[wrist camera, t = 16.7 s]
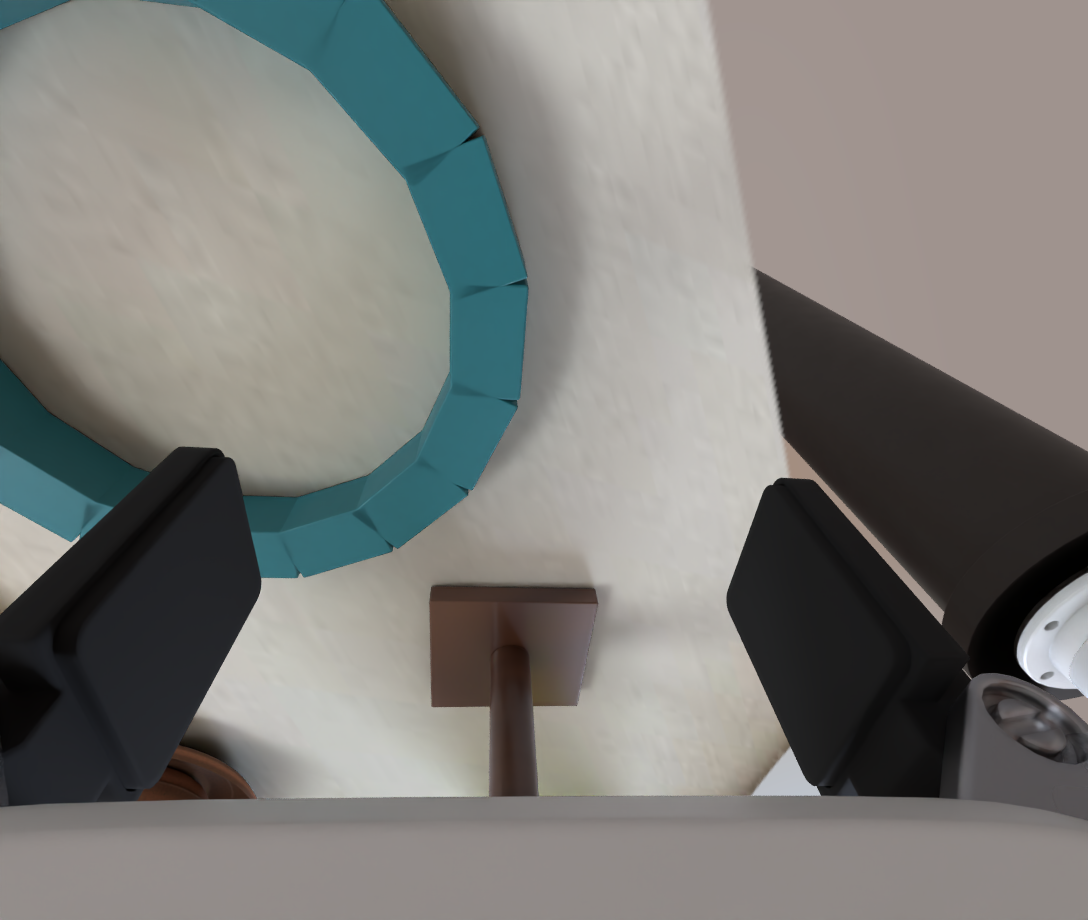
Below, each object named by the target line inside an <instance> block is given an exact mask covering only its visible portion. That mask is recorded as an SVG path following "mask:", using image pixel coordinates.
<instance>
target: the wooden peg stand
mask: <svg viewBox="0 0 1088 920" xmlns="http://www.w3.org/2000/svg"><path fill="white" fill-rule="evenodd" d="M429 604H430V657H431V706H432V707H488V706H490V753H489V797H524V796H539V794H538V778H537V763H536V747H535V731H534V716H533V706H577V704H578V700H579V695H580V690H581V685H582V680H583V675H584V670H585V665H586V660H587V655H588V651H589V646H590V641H591V636H592V631H593V626H594V621H595V616H596V611H597V606H598V600H597V595H596V591H595V589H582V588H515V587H449V586H432V587H431V593H430V601H429Z"/></svg>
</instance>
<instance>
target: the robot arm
mask: <svg viewBox="0 0 1088 920" xmlns="http://www.w3.org/2000/svg"><path fill="white" fill-rule="evenodd" d="M260 590H261V575H260V570H259V566H258V561H257V557H256V553H255V548H254V544H253V539H252V535H251V530H250V526H249V522H248V517H247V513H246V508H245V504H244V500H243V495H242V491H241V486H240V482H239V478H238V473H237V469H236V465H235V462H234V461H233V459H231V458H226V457H225V456H224V454H223V453H222V451H221V450H219V449H217V448H199V447H178V448H177V449H175V450H174V451H173V452H172V453H171V454H170V455H169V456H168V457H167V458H165V459H164V460H163V461H162V462H161V463H160V464H159V465H158V466H157V467H156V468H155V469H154V470H153V471H152V472H151V473H150V474H149V475H148V476H146V477H145V478H144V479H143V480H142V481H141V482H140V483H139V484H138V485H137V486H136V487H135V488H134V489H133V490H132V491H131V492H130V493H128V494H127V495H126V496H125V497H124V498H123V499H122V500H121V501H120V502H119V503H118V504H117V505H116V506H115V507H114V508H113V509H112V510H110V511H109V512H108V513H107V514H106V515H105V516H104V517H103V518H102V519H101V520H100V521H99V522H98V523H97V524H96V525H95V526H94V527H92V528H91V529H90V530H89V531H88V532H87V533H86V534H85V535H84V536H83V537H82V538H81V539H80V540H79V541H78V542H77V543H76V544H75V545H73V546H72V547H71V548H70V549H69V550H68V551H67V552H66V553H65V554H64V555H63V556H62V557H61V558H60V559H59V560H58V561H57V562H55V563H54V564H53V565H52V566H51V567H50V568H49V569H48V570H47V571H46V572H45V573H44V574H43V575H42V576H41V577H40V578H39V579H37V580H36V581H35V582H34V583H33V584H32V585H31V586H30V587H29V588H28V589H27V590H26V591H25V592H24V593H23V594H22V595H21V596H19V597H18V598H17V599H16V600H15V601H14V602H13V603H12V604H11V605H10V606H9V607H8V608H7V609H6V610H5V611H4V612H3V613H2V614H0V920H1088V724H1087V723H1086V722H1085V721H1083V720H1082V719H1081V718H1080V717H1079V716H1078V715H1077V714H1076V713H1075V712H1074V711H1073V710H1072V709H1071V708H1069V707H1068V706H1066V705H1065V704H1063V703H1062V702H1061V701H1059V700H1058V699H1057V698H1055V697H1054V696H1053V695H1051V694H1049V693H1047V692H1045V691H1044V690H1042V689H1040V688H1038V687H1036V686H1034V685H1033V684H1030V683H1028V682H1025V681H1022V680H1020V679H1017V678H1015V677H1012V676H1007V675H1002V674H996V673H990V674H980V675H979V676H977V677H975V678H973V679H972V680H971V679H970V678H969V677H968V676H967V674H966V673H965V672H964V671H963V670H962V668H963V667H964V666H965V664H966V663H967V662H968V660H969V659H970V657H969V656H968V655H967V654H966V653H965V651H964V650H963V649H962V648H961V647H960V646H959V645H958V643H957V642H956V641H955V640H954V639H953V638H952V637H951V635H950V634H949V633H948V632H947V631H946V630H945V629H944V628H943V626H942V625H941V624H940V623H939V622H938V621H937V620H936V618H935V617H934V616H933V615H932V614H931V613H930V612H929V611H928V609H927V608H926V607H925V606H924V605H923V604H922V602H921V601H920V600H919V599H918V598H917V597H916V596H915V595H914V593H913V592H912V591H911V590H910V589H909V588H908V587H907V585H906V584H905V583H904V582H903V581H902V580H901V579H900V578H899V576H898V575H897V574H896V573H895V572H894V571H893V570H892V568H891V567H890V566H889V565H888V564H887V563H886V562H885V560H884V559H883V558H882V557H881V556H880V555H879V554H878V552H877V551H876V550H875V549H874V548H873V547H872V546H871V544H869V542H868V541H867V540H866V539H865V538H864V537H863V536H862V534H861V533H860V532H859V531H858V530H857V529H856V527H855V526H854V525H853V524H852V523H851V522H850V521H849V520H848V519H847V517H846V516H845V515H844V514H843V513H842V512H841V510H840V509H839V508H838V507H837V506H836V505H835V504H834V502H833V501H832V500H831V499H830V498H829V497H828V496H827V494H826V493H825V492H824V491H823V490H822V489H821V488H820V487H819V485H818V484H817V483H816V482H814V481H813V480H810V479H793V478H779V479H777V480H776V481H775V482H774V484H773V485H769V486H767V487H766V488H765V490H764V492H763V494H762V497H761V500H760V503H759V505H758V508H757V511H756V514H755V516H754V519H753V522H752V525H751V528H750V530H749V533H748V536H747V539H746V541H745V544H744V547H743V550H742V552H741V555H740V558H739V561H738V564H737V566H736V569H735V572H734V575H733V577H732V580H731V583H730V586H729V589H728V592H727V608H728V611H729V614H730V616H731V618H732V620H733V622H734V624H735V627H736V629H737V631H738V633H739V635H740V637H741V640H742V642H743V644H744V646H745V648H746V651H747V653H748V655H749V657H750V659H751V661H752V664H753V666H754V668H755V670H756V672H757V675H758V677H759V679H760V681H761V683H762V685H763V688H764V690H765V692H766V694H767V696H768V698H769V701H770V703H771V705H772V707H773V709H774V712H775V714H776V716H777V718H778V720H779V722H780V725H781V727H782V729H783V731H784V733H785V736H786V738H787V740H788V742H789V744H790V746H791V749H792V751H793V752H794V755H795V757H796V759H797V762H798V764H799V766H800V768H801V770H802V773H803V775H804V776H805V778H806V780H807V781H808V782H809V783H810V784H811V785H813V786H817V788H818V790H819V792H820V794H821V796H524V797H389V798H301V799H213V800H166V801H138V799H139V797H140V795H141V793H142V792H143V790H144V789H150V788H152V787H153V786H154V785H155V784H156V783H157V782H158V781H159V779H160V778H161V776H162V775H163V773H164V771H165V769H166V767H167V765H168V764H169V762H170V760H171V758H172V756H173V754H174V752H175V751H176V749H177V747H178V745H179V743H180V741H181V740H182V738H183V736H184V734H185V732H186V730H187V728H188V727H189V725H190V723H191V721H192V719H193V717H194V715H195V714H196V712H197V710H198V708H199V706H200V704H201V703H202V701H203V699H204V697H205V695H206V693H207V691H208V690H209V688H210V686H211V684H212V682H213V680H214V679H215V677H216V675H217V673H218V671H219V669H220V667H221V666H222V664H223V662H224V660H225V658H226V656H227V654H228V653H229V651H230V649H231V647H232V645H233V643H234V642H235V640H236V638H237V636H238V634H239V632H240V630H241V629H242V627H243V625H244V623H245V621H246V619H247V617H248V616H249V614H250V612H251V610H252V608H253V606H254V605H255V603H256V601H257V599H258V597H259V594H260ZM1014 656H1015V659H1016V662H1017V663H1018V664H1019V665H1020V667H1021V668H1022V669H1023V670H1024V671H1025V672H1026V673H1027V674H1028V675H1029V676H1030V677H1031V678H1032V679H1033V680H1034V681H1036V682H1038V683H1040V684H1043V685H1045V686H1048V687H1055V688H1061V689H1079V690H1080V691H1081V692H1082V693H1083V694H1084V695H1085V696H1086V697H1087V698H1088V566H1087V567H1085V568H1083V569H1082V570H1080V571H1078V572H1077V573H1075V574H1073V575H1072V576H1070V577H1068V578H1067V579H1066V580H1064V581H1063V582H1062V583H1060V584H1059V585H1058V586H1056V587H1055V588H1054V589H1052V590H1051V591H1050V592H1049V593H1048V594H1047V595H1046V596H1044V597H1043V598H1042V599H1041V600H1040V601H1039V602H1038V603H1037V604H1036V605H1035V606H1034V608H1033V609H1032V610H1031V611H1030V612H1029V613H1028V615H1027V616H1026V617H1025V619H1024V620H1023V622H1022V624H1021V626H1020V627H1019V629H1018V631H1017V634H1016V637H1015V640H1014Z"/></svg>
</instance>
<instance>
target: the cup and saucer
mask: <svg viewBox="0 0 1088 920" xmlns="http://www.w3.org/2000/svg"><path fill="white" fill-rule="evenodd" d="M213 799H257V798H256V796H255V794H254V793H253V791H252V789H251V788H250V786H249V785H248V783H247V782H246V781H245V779H244V778H243V777H242V776H241V775H240V774H239V773H238V772H236V771H235V770H234V769H233V768H231V767H230V766H228V765H227V764H225V763H224V762H222V761H220V760H218V759H216V758H214V757H212V756H210V755H208V754H205V753H203V752H200V751H197V750H194V749H191V748H188V747H184V746H180V745H178V747H177V749H176V751H175V752H174V754H173V756H172V758H171V760H170V762H169V764H168V765H167V767H166V769H165V771H164V773H163V775H162V776H161V778H160V779H159V781H158V782H157V783H156V784H155V785H154V786H153V787H152V788H150V789H144V790H143V792H142V793H141V795H140V797H139V799H138V801H166V800H213Z"/></svg>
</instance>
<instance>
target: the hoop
mask: <svg viewBox="0 0 1088 920" xmlns="http://www.w3.org/2000/svg"><path fill="white" fill-rule="evenodd" d="M67 1H69V0H0V30H1V29H3V28H5V27H8V26H10V25H12V24H15V23H17V22H19V21H22V20H24V19H27V18H29V17H31V16H34V15H36V14H38V13H41V12H43V11H46V10H48V9H50V8H53V7H55V6H57V5H60V4H62V3H64V2H67ZM142 1H150V2H158V3H166V4H174V5H182V6H190V7H198V8H201V9H203V10H204V11H206V12H208V13H210V14H211V15H213V16H215V17H217V18H218V19H220V20H222V21H224V22H225V23H227V24H229V25H231V26H232V27H234V28H236V29H238V30H239V31H241V32H243V33H245V34H246V35H248V36H250V37H252V38H253V39H255V40H257V41H259V42H260V43H262V44H264V45H266V46H267V47H269V48H271V49H273V50H274V51H276V52H278V53H280V54H281V55H283V56H285V57H287V58H288V59H290V60H292V61H294V62H295V63H297V64H299V65H301V66H302V67H304V68H306V69H308V70H309V71H311V73H312V74H313V75H314V76H315V77H316V78H317V79H318V81H319V82H320V83H321V84H322V85H323V86H324V87H325V89H326V90H327V91H328V92H329V93H330V94H331V95H332V97H333V98H334V99H335V100H336V101H337V102H338V103H339V105H340V106H341V107H342V108H343V109H344V110H345V111H346V113H347V114H348V115H349V116H350V117H351V118H352V119H353V121H354V122H355V123H356V124H357V125H358V126H359V127H360V129H361V130H362V131H363V132H364V133H365V134H366V136H367V137H368V138H369V139H370V140H371V141H372V142H373V144H374V145H375V146H376V147H377V148H378V149H379V150H380V152H381V153H382V154H383V155H384V156H385V157H386V158H387V160H388V161H389V162H390V163H391V164H392V165H393V166H394V168H395V169H396V170H397V171H398V172H399V173H400V174H401V176H402V177H403V178H404V179H405V180H406V182H407V185H408V187H409V190H410V192H411V195H412V198H413V200H414V203H415V205H416V208H417V210H418V213H419V215H420V218H421V220H422V223H423V225H424V228H425V230H426V233H427V235H428V238H429V240H430V243H431V245H432V248H433V250H434V253H435V255H436V258H437V260H438V263H439V265H440V268H441V270H442V273H443V275H444V278H445V280H446V283H447V285H448V288H449V290H450V372H449V374H448V376H447V378H446V381H445V383H444V385H443V387H442V389H441V391H440V394H439V396H438V398H437V400H436V402H435V404H434V406H433V409H432V411H431V413H430V415H429V417H428V419H427V422H426V424H425V426H424V428H423V430H422V431H421V432H420V433H418V434H417V435H416V436H415V437H414V438H413V439H411V440H410V441H409V442H408V443H407V444H405V445H404V446H403V447H402V448H401V449H399V450H398V451H397V452H396V453H395V454H393V455H392V456H391V457H390V458H389V459H387V460H386V461H385V462H384V463H383V464H381V465H380V466H379V467H378V468H377V469H376V470H374V471H373V472H372V473H371V474H370V475H368V476H365V477H362V478H358V479H355V480H352V481H349V482H345V483H342V484H339V485H336V486H333V487H329V488H326V489H323V490H320V491H317V492H313V493H310V494H307V495H304V496H300V497H272V496H243V500H244V504H245V508H246V513H247V517H248V522H249V526H250V530H251V535H252V539H253V544H254V548H255V553H256V557H257V561H258V566H259V570H260V575H261V578H298V576H299V574H300V573H301V574H302V576H303V577H308V576H312V575H315V574H318V573H322V572H325V571H329V570H332V569H335V568H339V567H342V566H346V565H349V564H352V563H356V562H359V561H362V560H366V559H369V558H373V557H376V556H379V555H383V554H386V553H390V552H392V551H393V547H396V548H397V549H398V548H400V547H401V546H402V545H404V544H405V543H406V542H407V541H409V540H410V539H411V538H413V537H414V536H415V535H417V534H418V533H419V532H421V531H422V530H423V529H424V528H426V527H427V526H428V525H430V524H431V523H432V522H434V521H435V520H436V519H438V518H439V517H440V516H441V515H443V514H444V513H445V512H447V511H448V510H449V509H451V508H452V507H453V506H455V505H456V504H457V503H459V502H460V501H461V500H462V499H464V498H465V497H466V496H468V490H473V488H474V487H475V485H476V483H477V481H478V479H479V477H480V476H481V474H482V472H483V470H484V468H485V466H486V465H487V463H488V461H489V459H490V457H491V455H492V454H493V452H494V450H495V448H496V446H497V444H498V443H499V441H500V439H501V437H502V435H503V433H504V432H505V430H506V428H507V426H508V424H509V423H510V421H511V419H512V417H513V415H514V413H515V412H516V410H517V408H518V405H517V400H519V399H520V394H521V381H522V368H523V355H524V342H525V329H526V316H527V303H528V290H529V288H528V283H527V277H528V276H527V271H526V266H525V262H524V258H523V255H522V252H521V249H520V245H519V242H518V239H517V236H516V233H515V230H514V226H513V223H512V220H511V217H510V214H509V211H508V207H507V204H506V201H505V198H504V195H503V192H502V188H501V185H500V182H499V179H498V176H497V173H496V169H495V166H494V163H493V160H492V157H491V154H490V150H489V147H488V144H487V141H486V138H485V136H484V135H482V136H480V137H477V138H474V139H471V140H469V141H467V140H468V139H469V138H470V137H471V136H472V135H473V134H474V133H475V132H476V131H477V130H478V129H479V127H480V126H479V124H478V123H477V122H476V120H475V119H474V118H473V116H472V115H471V114H470V113H469V111H468V110H467V109H466V107H465V106H464V105H463V103H462V102H461V101H460V99H459V98H458V97H457V95H456V94H455V93H454V92H453V90H452V89H451V88H450V86H449V85H448V84H447V82H446V81H445V80H444V78H443V77H442V76H441V75H440V73H439V72H438V71H437V69H436V68H435V67H434V65H433V64H432V63H431V61H430V60H429V59H428V57H427V56H426V55H425V54H424V52H423V51H422V50H421V48H420V47H419V46H418V44H417V43H416V42H415V40H414V39H413V38H412V37H411V35H410V34H409V33H408V31H407V30H406V29H405V27H404V26H403V25H402V23H401V22H400V21H399V19H398V18H397V17H396V16H395V14H394V13H393V12H392V10H391V9H390V8H389V6H388V5H387V4H386V2H385V1H384V0H142ZM149 474H150V472H147V471H144V470H141V469H138V468H135V467H133V466H131V465H130V464H128V463H126V462H125V461H123V460H122V459H120V458H119V457H117V456H116V455H114V454H112V453H111V452H109V451H108V450H106V449H105V448H103V447H102V446H100V445H98V444H97V443H95V442H94V441H92V440H91V439H89V438H88V437H86V436H84V435H83V434H81V433H80V432H78V431H77V430H75V429H74V428H72V427H70V426H69V425H67V424H66V423H64V422H63V421H61V420H60V419H58V418H56V417H55V416H53V415H52V414H50V413H49V412H48V411H47V410H46V409H45V408H44V407H43V406H42V405H41V404H40V402H39V401H38V400H37V399H36V398H35V397H34V396H33V395H32V394H31V393H30V391H29V390H28V389H27V388H26V387H25V386H24V385H23V384H22V383H21V381H20V380H19V379H18V378H17V377H16V376H15V375H14V374H13V373H12V372H11V370H10V369H9V368H8V367H7V366H6V365H5V364H4V363H3V362H2V360H1V359H0V503H1V504H2V505H4V506H6V507H8V508H10V509H12V510H13V511H15V512H17V513H19V514H21V515H22V516H24V517H26V518H28V519H30V520H31V521H33V522H35V523H37V524H39V525H41V526H42V527H44V528H46V529H48V530H50V531H51V532H53V533H55V534H57V535H59V536H60V537H62V538H64V539H66V540H68V541H70V542H72V541H73V540H75V539H76V538H77V537H78V536H79V535H80V539H81V538H82V537H83V536H84V535H85V534H86V533H87V532H88V531H89V530H90V529H91V528H92V527H94V526H95V525H96V524H97V523H98V522H99V521H100V520H101V519H102V518H103V517H104V516H105V515H106V514H107V513H108V512H109V511H110V510H112V509H113V508H114V507H115V506H116V505H117V504H118V503H119V502H120V501H121V500H122V499H123V498H124V497H125V496H126V495H127V494H128V493H130V492H131V491H132V490H133V489H134V488H135V487H136V486H137V485H138V484H139V483H140V482H141V481H142V480H143V479H144V478H145V477H146V476H148V475H149ZM80 539H79V540H80Z"/></svg>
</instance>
